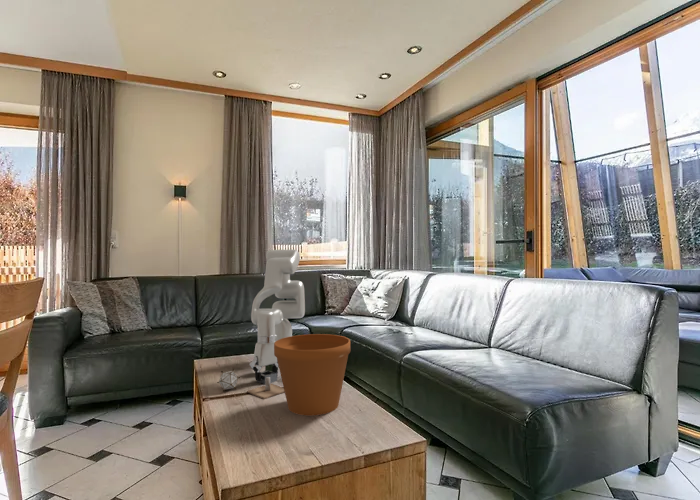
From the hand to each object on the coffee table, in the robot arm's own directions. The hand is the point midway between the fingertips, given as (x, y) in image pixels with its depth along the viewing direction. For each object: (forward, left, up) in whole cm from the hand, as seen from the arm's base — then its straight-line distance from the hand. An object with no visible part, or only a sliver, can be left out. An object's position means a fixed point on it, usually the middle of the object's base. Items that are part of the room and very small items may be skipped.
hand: (266, 378), depth 174 cm
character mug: (-10, -10, -1) cm, 14 cm away
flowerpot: (+6, +37, -1) cm, 38 cm away
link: (0, 0, -1) cm, 1 cm away
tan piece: (+8, +12, -1) cm, 14 cm away
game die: (+17, -3, -2) cm, 17 cm away
